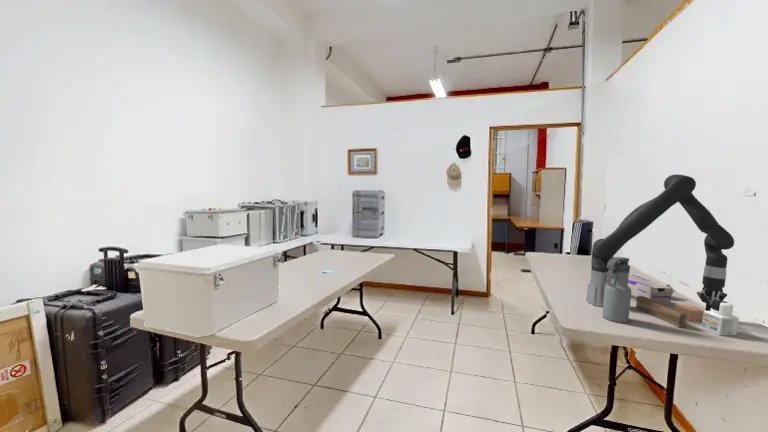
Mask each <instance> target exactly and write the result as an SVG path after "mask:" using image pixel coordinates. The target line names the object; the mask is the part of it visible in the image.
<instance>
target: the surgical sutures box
mask: <svg viewBox="0 0 768 432" xmlns="http://www.w3.org/2000/svg"><path fill="white" fill-rule="evenodd" d="M658 283H659V282H655V281H652V280H650V279H646V278H644V277H641V276H639V275H635V274H629V277H628V287H630V289H631V302H635V303H636V302H637V296H644V297H647V298H649V299H651V300H654V301H656V302H659V303H661V304H663V305H666V306H668V307H671V298H672V296H671V293H672V288H673V287H672V288H669V287H666V286H664V285H661V284H658Z"/></svg>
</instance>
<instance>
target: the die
mask: <svg viewBox="0 0 768 432" xmlns="http://www.w3.org/2000/svg"><path fill="white" fill-rule="evenodd" d="M657 283H658V284H661V285H664V286H666V287H669V288H672V293H671V297H672V296H673V295H674V293H675V290H674V288H673V287H672V286H671V284H670V283H666V282H665V283H664V282H657Z"/></svg>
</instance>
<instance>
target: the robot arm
mask: <svg viewBox="0 0 768 432" xmlns="http://www.w3.org/2000/svg"><path fill="white" fill-rule="evenodd" d="M696 186H697V182H696V180H695V178H693V177H691V176H689V175H686V174H685V175H684V174H672V175H668V176H667V177H666V178H665V180H664V182H663V187H664V190H663V191H662V192H661V193H659V194H658V195H657V196H656V197H654V198H651V199H650V200H648V201H646V202H643V203H642V204H640V205H639V206H637V207H636V208H634V210H632V211H631V212H630V213H629V214H628V215H626V217H625V218H624V219H623V220H622V221H621V223H620V224H619V225H618V227H617V228H615V230H614V231H612V233H610V234H608V236H606V237H605V238H599V239H597V240H595V241H594V242H593V245H592V250H591V265H590V266H591V268H590V278H589V283H587V291H586V301H585V302H587V303H588V304H590V305H592V306H596V307H597V306H598V307H602V308H603V303H604V294H605V286H606V285H607V284H608V283H605V282H604V275H605V272H608V269H609V268H607V263H608V261H609V260H610V259H612V258H614V257H615V255H616V254H617V253H618V251H620V250H621V249H622V248H623V247H624V246H625V245H626V244H627V243H628V242H629V241H630V240H632V239H633V238H635V237H636V236H637V235H638V234H640V233H641V232H643V231H644V230H646V229H647V228H648V227H649V226H650V225H652V223H654V222H655V221H656V220H658V218H659V217H660V216H662V215H663V214H664V213H665V212H667V211H668V210H669V209H670V208H671V207H673V206H674V205H676V204H677V203H679V204H680V205H681V207H682V208H683V209H684V211H685V212H686V213H687V215H688V216H689V217H690V218H691V220H692V222H693V223H694V224H695V226H696V227H697V229H698V230H699V231H700V232H701V233H704V234H706V236H705V237H704V242H703V245H704V250H705V255H706V258H705V265H704V268H703V273H702V274H703V275H702V281H701V282H702V283H701V284H702V285H703V287H702V288H701V289H702V290H700V291H697V292H696V294H697V296H698V298H699V300H700V301H701V302H702V303H705V308H704V310H705V311H711V310H710V309H711V302H712V301H714V300H720V301H724V300H725V299H726V298H727V296H728V294H727V293H725V292H724V288H725V285H726V279H727V266H728V256H727V255H726V254H724V253H723V250H729V249H732V248H733V247H734V245H735V239H734V237H733V235H732V234H731V233H730V232H729V231H728V230H726V228H724V227H723V226H722V225H721V224H720V223H719V222H718V221H717V219H716V218H715V216H714V215H713V214H712V213H711V211H710V210H709V209H708V208H707V207H706V206H705V205H703V204H702V202H701V201H699V200H698V198H696V196H695V195H694V194H693V191H694V190H695V189H696ZM610 277H611V274H609V273H608V274H607V277H606V280H607V282H609V283H610Z"/></svg>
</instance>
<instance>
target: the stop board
mask: <svg viewBox="0 0 768 432" xmlns="http://www.w3.org/2000/svg"><path fill="white" fill-rule="evenodd" d="M635 303H636V304H635V308H636V309H638V310H640V311H643V312H645V313H647V314H650V315H651V316H653V317H655V318H656V319H659V320H661V321H664V322H666V323H668V324H669V325H672V326H674V327H676V328H678V329H679V328H680V329H683V328H684V329H685V328H686V325H687V320H686V319H687V314H685V313H683V312H680V311H678V310H675V308H673V307H671V306H670V307H668V306H666V305H663V304H661V303H659V302H656V301H654V300H651V299H649V298H647V297H644V296H637V302H635Z"/></svg>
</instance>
